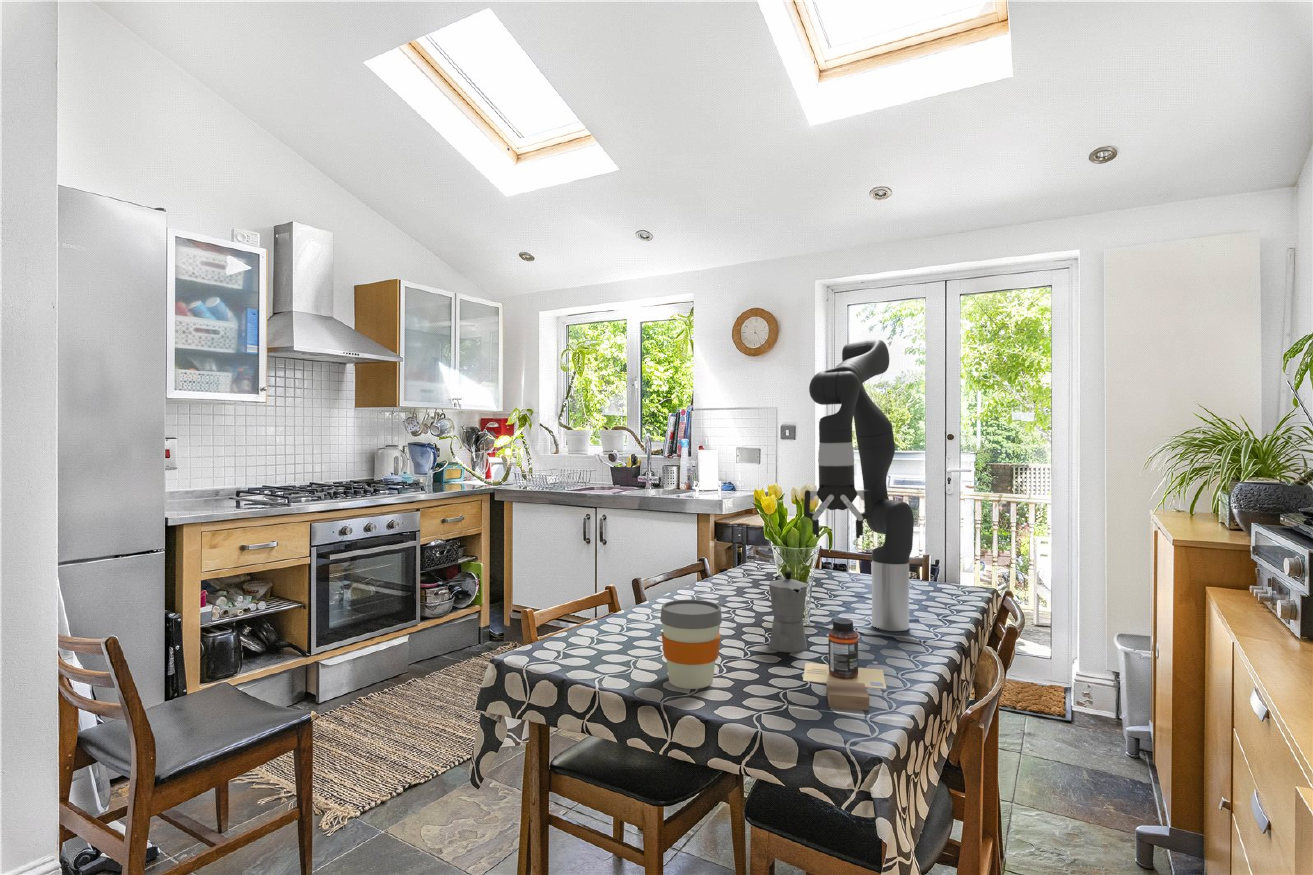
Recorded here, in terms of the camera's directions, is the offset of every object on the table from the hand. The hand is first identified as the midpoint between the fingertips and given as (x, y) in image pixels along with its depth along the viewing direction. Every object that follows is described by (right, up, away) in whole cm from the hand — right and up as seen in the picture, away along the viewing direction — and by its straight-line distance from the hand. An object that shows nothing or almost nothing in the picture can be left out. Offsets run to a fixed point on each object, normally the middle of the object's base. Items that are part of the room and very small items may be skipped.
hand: (837, 537), depth 144 cm
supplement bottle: (-1, -28, -8) cm, 29 cm away
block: (-4, -28, -21) cm, 36 cm away
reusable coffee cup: (-33, -28, -10) cm, 44 cm away
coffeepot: (-9, -28, +12) cm, 32 cm away
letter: (-1, -28, -8) cm, 29 cm away
